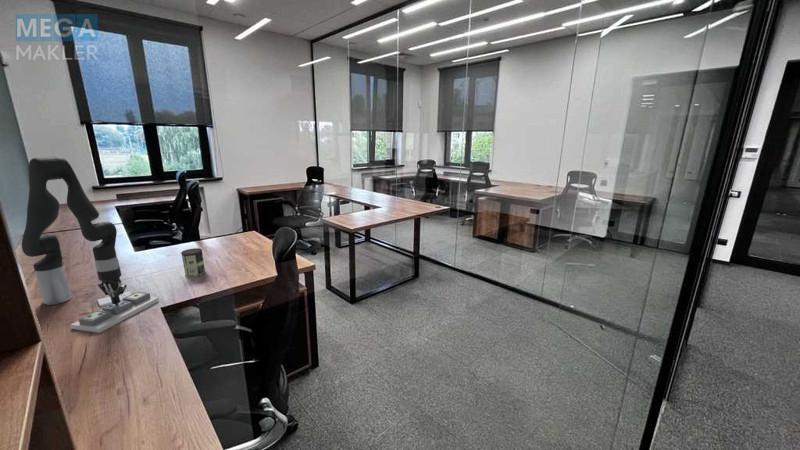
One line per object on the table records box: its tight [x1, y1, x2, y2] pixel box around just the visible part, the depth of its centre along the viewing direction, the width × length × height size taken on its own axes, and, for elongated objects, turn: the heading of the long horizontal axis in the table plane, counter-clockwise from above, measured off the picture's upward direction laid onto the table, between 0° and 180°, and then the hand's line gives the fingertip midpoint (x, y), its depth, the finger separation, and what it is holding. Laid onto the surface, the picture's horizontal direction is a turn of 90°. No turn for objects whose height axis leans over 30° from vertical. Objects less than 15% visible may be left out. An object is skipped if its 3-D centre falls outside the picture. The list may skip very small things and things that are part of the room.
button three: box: [106, 302, 126, 309], centre depth 143 cm, size 5×5×3 cm
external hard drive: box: [96, 291, 132, 308], centre depth 157 cm, size 2×8×12 cm
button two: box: [83, 312, 106, 320], centre depth 135 cm, size 5×5×3 cm
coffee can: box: [180, 247, 206, 278], centre depth 187 cm, size 10×10×14 cm
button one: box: [127, 292, 145, 299], centre depth 152 cm, size 5×5×3 cm
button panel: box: [70, 291, 160, 334], centre depth 144 cm, size 14×27×4 cm, turn 170°
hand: (116, 303), depth 143 cm, fingers closed
